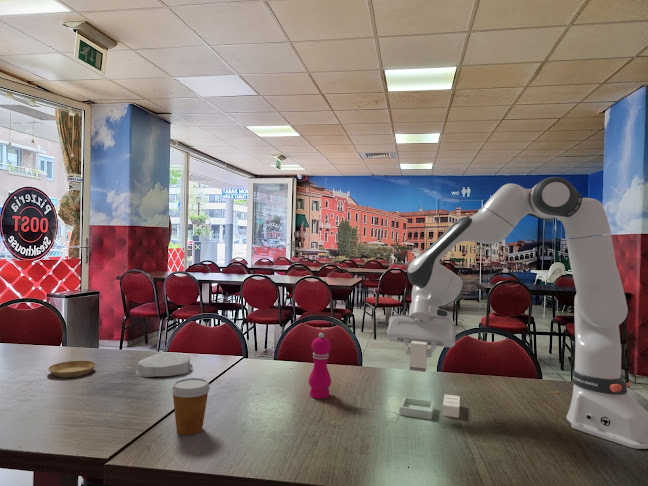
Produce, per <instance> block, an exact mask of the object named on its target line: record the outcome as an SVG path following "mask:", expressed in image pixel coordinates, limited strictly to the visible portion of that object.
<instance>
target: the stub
mask: <svg viewBox="0 0 648 486" xmlns="http://www.w3.org/2000/svg"><path fill="white" fill-rule="evenodd" d="M428 346H429V345H428V342H425V341H415V340H412V342H411V343H410V346H409V347H410V355H409V371H412V372H420V373H426V371H427V363H428V362H427V361H428V357H426V352H427V349H428Z"/></svg>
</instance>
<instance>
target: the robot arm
mask: <svg viewBox="0 0 648 486" xmlns="http://www.w3.org/2000/svg"><path fill="white" fill-rule="evenodd" d="M526 216H530V217H534V218H537V219H541V220H550V219H555V218H556V219H558V220H559V221H560V222H561V223H562V225H563V228H564V232H565V239H566V246H567V252H568V259H569V265H570V269H571V274H572V277H573V278H572V279H573V282H574V287H575V291H576V292H575V293H576V294H575V296H574V301H573V302H574V303H573V304H574V306H573V307H574V308H573V309H574V310H573V311H574V314H573V315H574V337H575V338H574V339H575V342H574V343H575V347H574V350H575V351H574V368H573V370H572V379H571V380H572V381H571V382H572V388H573V389H572V394H571V395H572V396H571V401H570V405H569V408H568V412H567V414H566V419H567V421H568V422H569V423H570V424H571V428H572V429H575V430H578V431H580V432H583V433H587V434H590V435H592V436H596V437H598V438H601V439H603V440H607V441H610V442H612V443H613V442H614V443H616V444H619V445H622V446H625V447H629V448H631V449H638V450H643V449H645V450H646V449H648V410H647V409H645V408H644V407H643V406H642V405H641V404H640V403H639V402H638V401H636V399H635V398H634V397H633V396H631V394H629V392H628V388H629V387H631V384H632V382H631V381H630V382H626V381H625V380H624V379H623V377H622V376H621V375H622V374H621V373H622V372H621V371H622V351H623V350H622V344H621V335H620V325H621V324H623V322H624V321H625V320H626V319H627V316H628V312H629V310H628V304H627V299H626V295H625V294H626V293H625V291H624V286H623V283H622V279H621V276H620V272H619V269H618V266H617V262H616V256H615V250H614V249H615V248H614V244H613V237H612V233H611V228H610V224H609V220H608V216H607V213H606V210H605V209H604V206H603V204H602V203H601V201H600V200H598V199H596V198H591V197H583V196H582V194H581V193H580V192H578V190H576V187H574V186H573V185H572V183H571V182H570V181H568V180H567V179H566V178H563V177H559V176H550V177H547V178H543V179H542V180H540V181H538V182H537V183H536V184H535V185H534V186H533V187H532V188H524V187H523V186H521V185H520V184H516V183H505V184H504V185H501V187H500V188H498V189H497V191H495V193H493V194H492V195H491V196H490V197H489V199H488V200H487V201H486V202H485V203H484V204H483V206H482V207H481V208H480V209H479V210H478V211H477V212H476V213H474V214H473V215H470V216H463V217H461V218H459V219H458V220H456V221H455V222H454V223H453V224H452V225H451V226H450V227H448V228H447V230H445V231H444V232H443V233H442V234H441V235H440V236H439V237H438V238H437V239H436V240H435V241H433V242H432V244H431V245H429V246H428V248H426V249H425V250H423V252H422V253H420V254H419V255H417V256H416V257H415V258H413V259H412V260H411V261H410V263H409V265H408V267H407V269H406V270H407V278H408V280H409V283H410V284H411V285H412V288H411V295H410V297H411V302H410V304H409V310H408V314H399V313H394V314H392V315H391V316H389V317H388V326H387V330H386V337H387V339H388V341H389V342H395V343H396V342H397V343H398V342H399V343H403V347H404V349H405V355H406V356H410V347H411V346H409V344H411V342H412V340H415V341H425V342H428V345H427V346H431V347H430V348H429V349H428V348H427V352H426V357H427V358H433V357H432V356H433V353H434V352H435V351H436V349H437V347H441V348H442V347H444V348H453V347H455V346H456V329H455V325H454V322H453V317H452V313H451V312H450V311H447V310H444V309H442V308H440V307H444V306H447V305H451V304H453V303H455V302H458V301H459V299H461V297H462V295H463V291H464V281H463V278H462V277H460V276H459V275H457V273H455V272H453V271H452V270H450V269H448V268H447V267H445V266H444V265H443V264H441V263H439V262H440V261H441V259H443V258H444V257H445V256H446V255H447V254H448V253H449V252H450V251H451V250H452V249H453V248H455V247H456V246H457V245H458V244H460V243H462V242H466V241H467V242H468V241H469V242H475V243H480V244H483V245H484V244H485V245H493V244H494V245H495V244H497V243H501V242H503V241H504V240H505V239H506V238H507V237H508V236H509V235H510V234H511V233H512V232H513V230H514V228H515V227H516V226H517V225H518V223H519V222H520V221H521V220H522V219H524V217H526Z"/></svg>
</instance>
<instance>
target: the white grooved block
mask: <svg viewBox="0 0 648 486" xmlns="http://www.w3.org/2000/svg"><path fill="white" fill-rule="evenodd" d="M460 398H461V395H456V394H449V393H444V396H443V402H442V416H443V417H451V418H458V419H459V418H460V405H461V404H460V401H461V399H460Z"/></svg>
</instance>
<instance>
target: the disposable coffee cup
mask: <svg viewBox="0 0 648 486" xmlns="http://www.w3.org/2000/svg"><path fill="white" fill-rule="evenodd" d="M210 389H211V385H210V383H209V381H208V380H207V379H205V378H201V377H200V378H199V377H189V378H188V377H187V378H181V379H179V380H175V381H174V382H173V384H172V387H171V389H170V391H171V394H172V398H173V406H174V407H173V408H174V409H173V410H174V416H175V417H174V418H175V419H174V420H175V425H176V426H175V428H176V429H175V430H176V434H178V435H182V436H191V435H192V436H193V435H197V434H199V433H201V432H202V430H203V427H204V423H205V414H206V408H207V401H208V396H209V394H208V393H209V392H210Z"/></svg>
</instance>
